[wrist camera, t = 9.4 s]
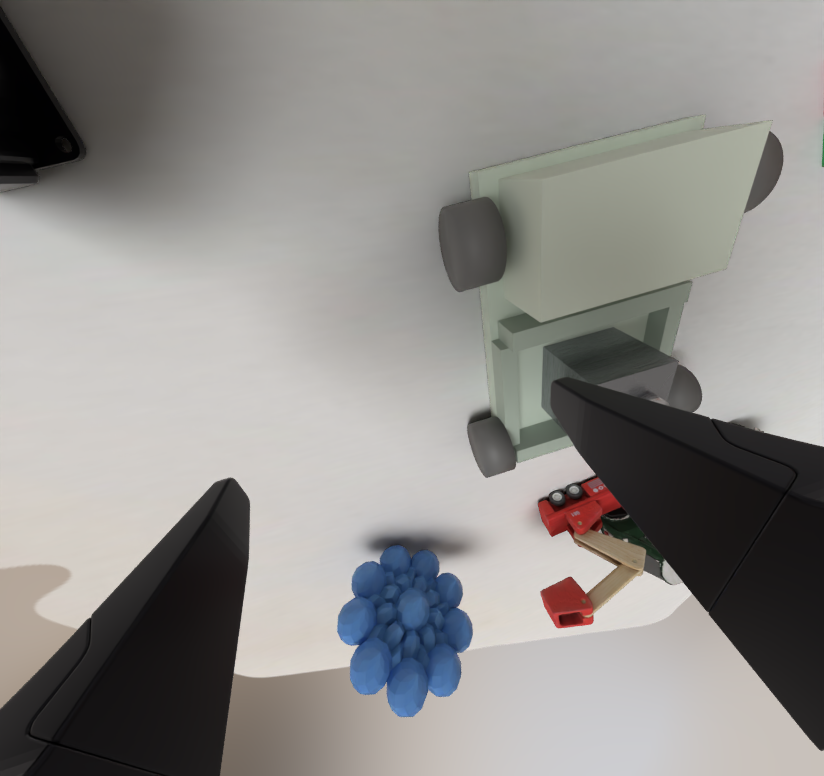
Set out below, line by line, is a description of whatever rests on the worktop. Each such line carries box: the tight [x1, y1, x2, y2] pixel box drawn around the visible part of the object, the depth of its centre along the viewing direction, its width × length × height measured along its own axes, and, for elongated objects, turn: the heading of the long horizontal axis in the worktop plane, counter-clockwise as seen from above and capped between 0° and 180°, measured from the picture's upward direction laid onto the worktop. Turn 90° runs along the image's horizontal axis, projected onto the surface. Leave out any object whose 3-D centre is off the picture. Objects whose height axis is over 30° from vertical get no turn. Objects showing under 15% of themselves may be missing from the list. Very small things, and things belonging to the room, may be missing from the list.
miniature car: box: [598, 424, 764, 585], centre depth 33 cm, size 9×18×8 cm, turn 123°
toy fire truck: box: [538, 477, 646, 628], centre depth 30 cm, size 3×14×10 cm, turn 110°
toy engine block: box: [541, 327, 679, 433], centre depth 21 cm, size 5×5×6 cm
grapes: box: [337, 545, 473, 717], centre depth 27 cm, size 12×7×12 cm, turn 66°
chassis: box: [439, 115, 783, 478], centre depth 21 cm, size 20×16×5 cm
